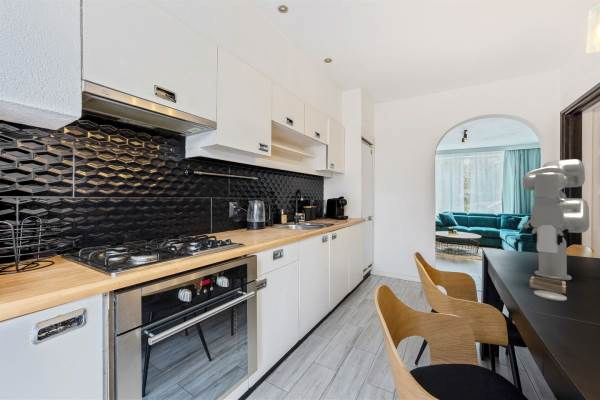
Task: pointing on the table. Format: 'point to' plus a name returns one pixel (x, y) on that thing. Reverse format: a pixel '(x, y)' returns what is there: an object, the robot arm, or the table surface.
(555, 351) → the table surface
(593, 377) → the table surface
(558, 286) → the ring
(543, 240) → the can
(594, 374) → the table surface
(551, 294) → the coaster
